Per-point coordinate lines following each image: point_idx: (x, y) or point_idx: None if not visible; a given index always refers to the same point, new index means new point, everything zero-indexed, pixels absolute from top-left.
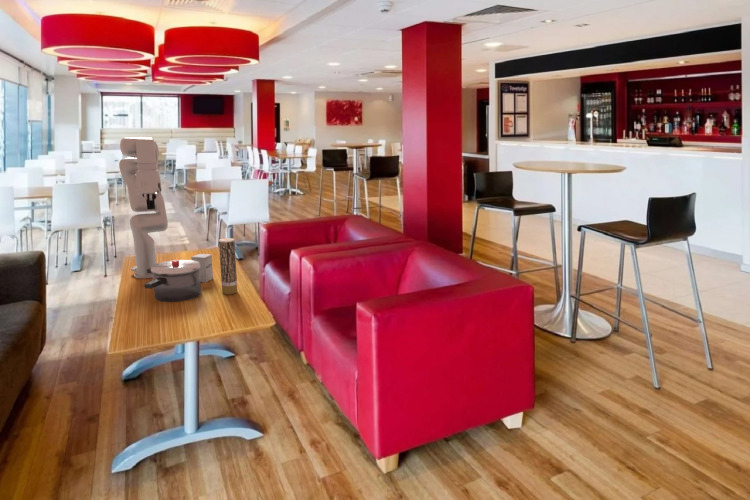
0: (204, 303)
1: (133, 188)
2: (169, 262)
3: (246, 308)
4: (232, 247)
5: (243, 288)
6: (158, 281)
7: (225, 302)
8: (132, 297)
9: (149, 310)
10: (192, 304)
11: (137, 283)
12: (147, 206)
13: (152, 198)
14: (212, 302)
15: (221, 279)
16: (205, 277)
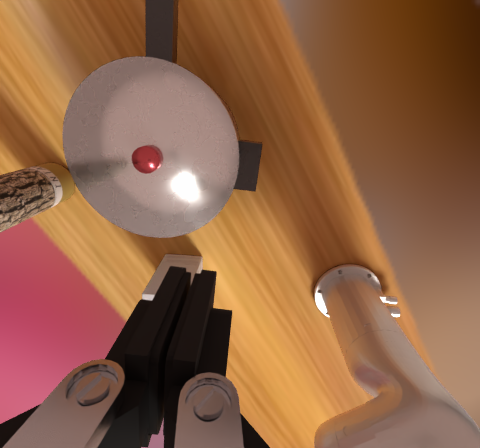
0: (64, 79)
1: None
2: (199, 197)
3: None
4: None
5: (47, 219)
6: (146, 13)
7: (16, 97)
8: (295, 102)
9: None
10: (91, 64)
11: (341, 226)
12: (205, 289)
13: (54, 406)
14: (49, 92)
15: (44, 179)
16: (163, 260)
